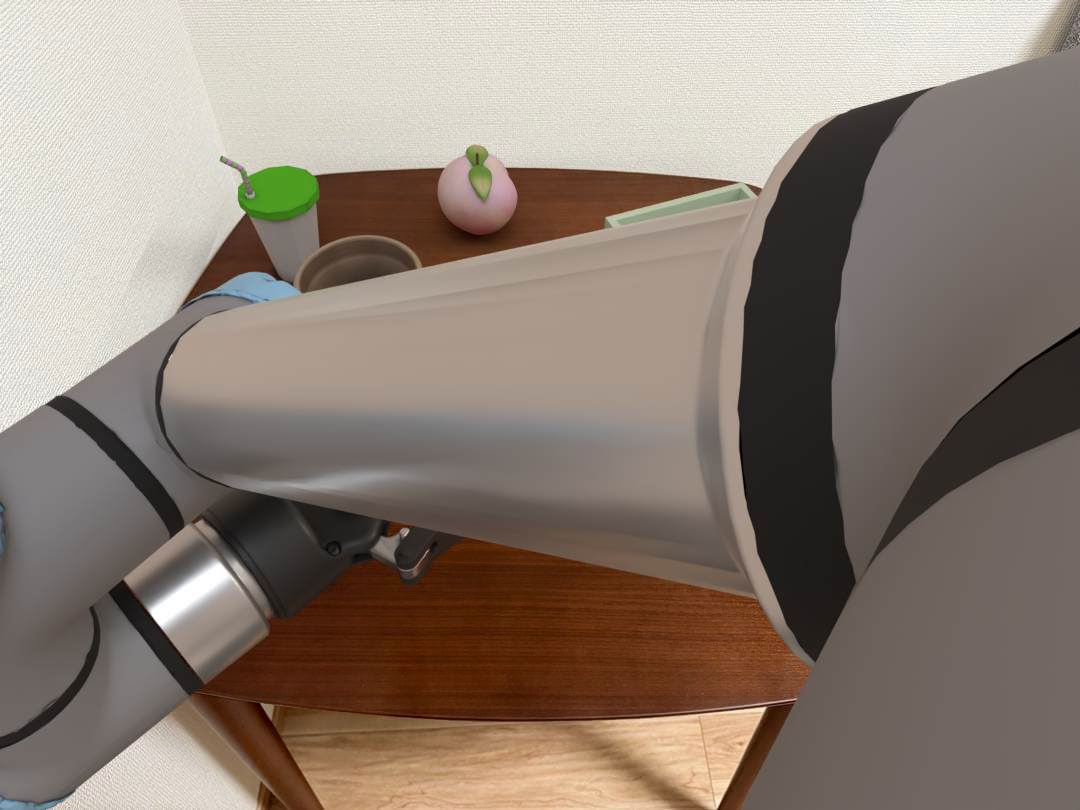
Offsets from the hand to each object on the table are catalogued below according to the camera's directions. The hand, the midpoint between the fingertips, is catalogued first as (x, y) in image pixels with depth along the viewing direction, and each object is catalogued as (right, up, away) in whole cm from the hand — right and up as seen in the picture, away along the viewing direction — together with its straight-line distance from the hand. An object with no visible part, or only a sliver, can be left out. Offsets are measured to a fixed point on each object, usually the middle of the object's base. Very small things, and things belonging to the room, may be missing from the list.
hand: (542, 346), depth 53 cm
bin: (+16, +5, +30) cm, 35 cm away
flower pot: (-16, +1, +27) cm, 31 cm away
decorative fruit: (-7, +16, +39) cm, 43 cm away
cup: (-26, +11, +35) cm, 45 cm away
